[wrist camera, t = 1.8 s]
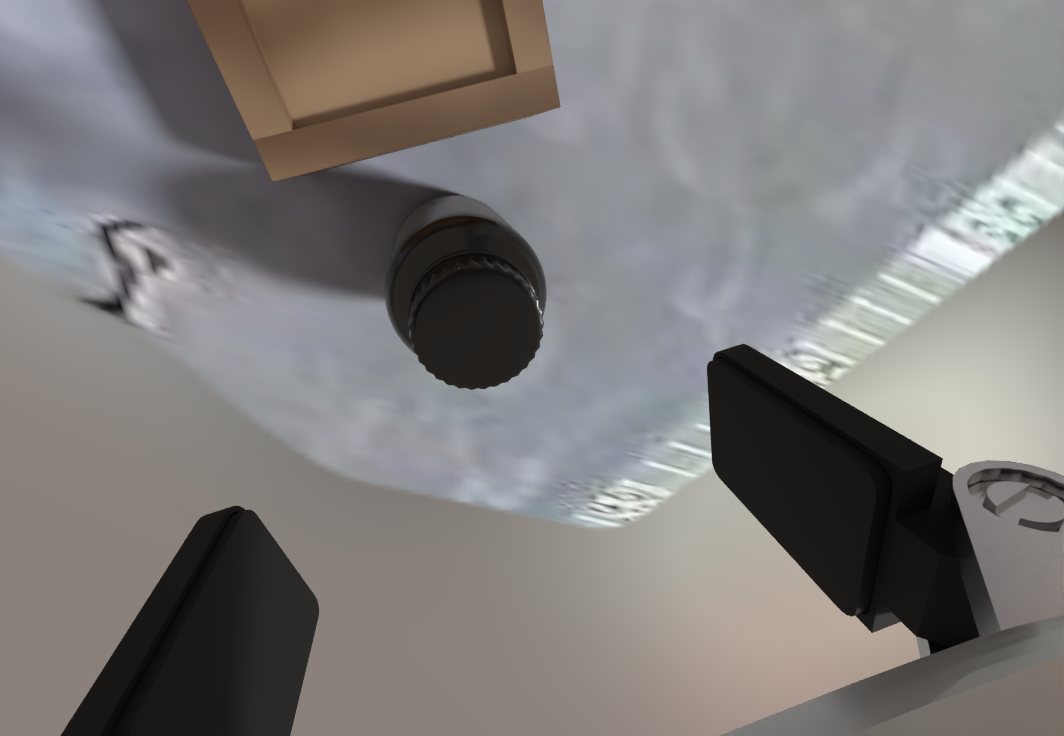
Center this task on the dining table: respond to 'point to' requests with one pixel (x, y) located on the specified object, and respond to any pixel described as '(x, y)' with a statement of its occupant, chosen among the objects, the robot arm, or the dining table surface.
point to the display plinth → (375, 73)
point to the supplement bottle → (465, 293)
